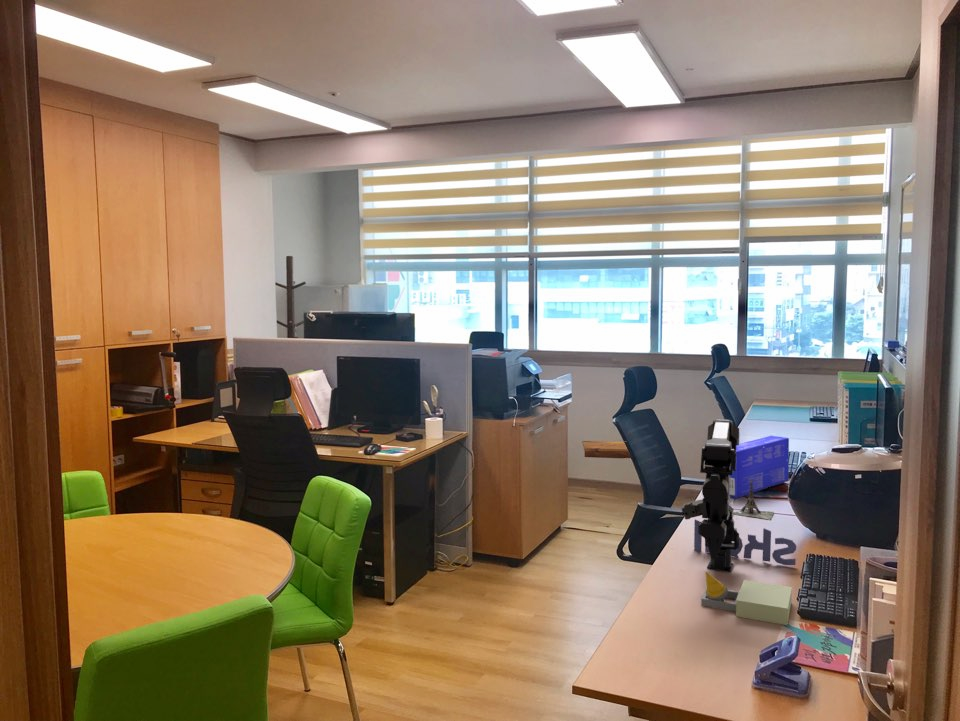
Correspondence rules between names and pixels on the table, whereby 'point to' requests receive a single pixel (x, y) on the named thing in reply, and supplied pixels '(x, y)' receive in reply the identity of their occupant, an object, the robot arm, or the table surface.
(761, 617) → the green box with handle
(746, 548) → the signage
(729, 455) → the robot arm
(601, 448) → the brown wooden slab
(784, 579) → the table surface
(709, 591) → the yellow cone shape
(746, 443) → the toner cartridge box
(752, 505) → the eiffel tower figurine
